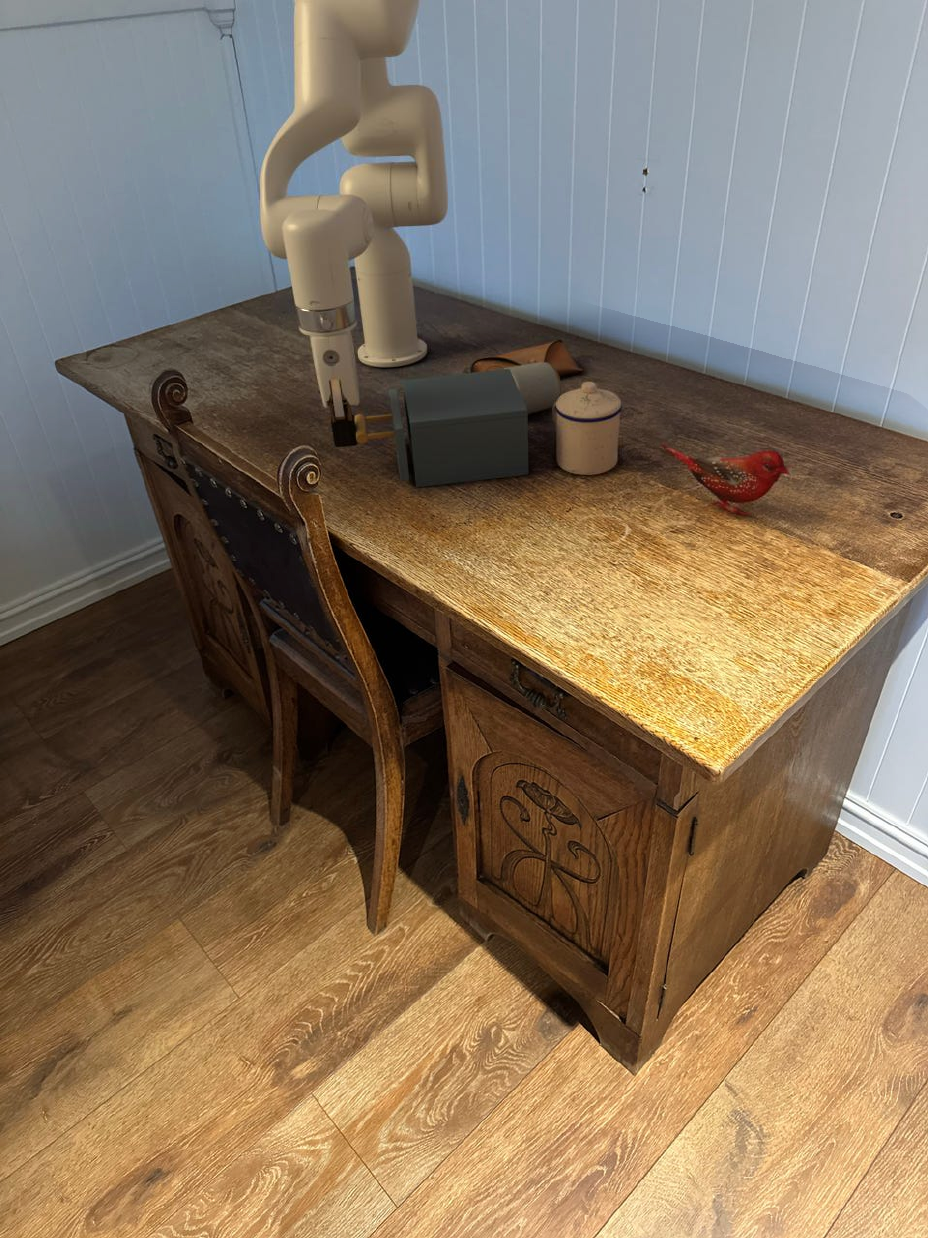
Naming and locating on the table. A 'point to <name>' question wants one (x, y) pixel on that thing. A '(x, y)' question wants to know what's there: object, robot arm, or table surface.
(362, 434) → the drawer
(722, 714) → the table surface
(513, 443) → the cabinet
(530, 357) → the sunglasses case
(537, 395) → the ceramic mug
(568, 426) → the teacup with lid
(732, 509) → the decorative bird figurine
